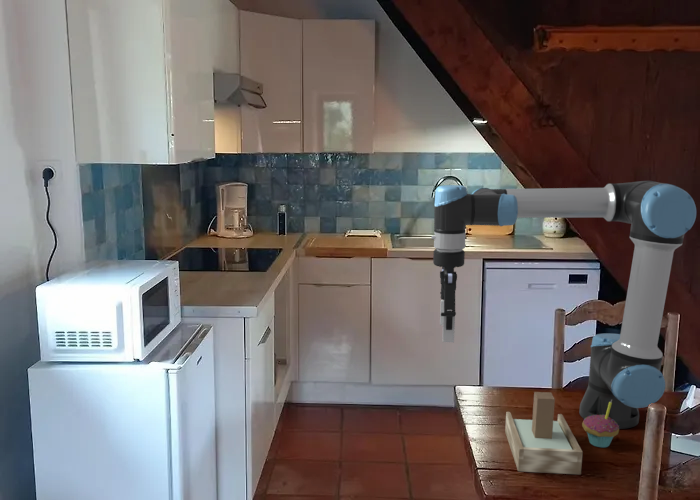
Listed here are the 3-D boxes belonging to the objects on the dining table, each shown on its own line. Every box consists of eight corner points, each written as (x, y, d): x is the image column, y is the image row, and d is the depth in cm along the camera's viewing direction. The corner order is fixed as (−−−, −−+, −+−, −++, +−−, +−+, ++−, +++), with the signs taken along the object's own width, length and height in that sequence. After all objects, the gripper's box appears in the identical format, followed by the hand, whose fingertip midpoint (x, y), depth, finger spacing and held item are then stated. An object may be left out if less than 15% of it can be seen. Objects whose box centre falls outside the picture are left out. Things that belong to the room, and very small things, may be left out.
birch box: (560, 434, 170) (562, 414, 169) (580, 474, 151) (582, 452, 150) (505, 431, 171) (506, 411, 170) (518, 471, 152) (519, 449, 151)
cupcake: (618, 439, 168) (622, 394, 166) (616, 454, 160) (620, 407, 158) (582, 432, 171) (586, 389, 169) (579, 447, 164) (582, 401, 161)
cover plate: (557, 426, 168) (560, 383, 166) (572, 457, 152) (576, 410, 150) (512, 424, 169) (515, 381, 167) (523, 455, 153) (527, 408, 151)
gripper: (431, 240, 174) (430, 318, 178) (435, 259, 150) (433, 349, 153) (460, 240, 173) (458, 319, 177) (469, 259, 149) (466, 350, 153)
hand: (446, 333), depth 165 cm, fingers open, 13 cm apart
